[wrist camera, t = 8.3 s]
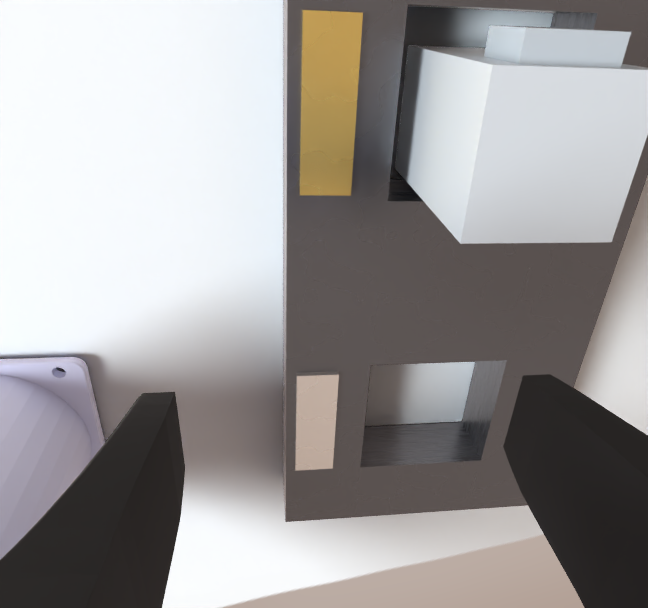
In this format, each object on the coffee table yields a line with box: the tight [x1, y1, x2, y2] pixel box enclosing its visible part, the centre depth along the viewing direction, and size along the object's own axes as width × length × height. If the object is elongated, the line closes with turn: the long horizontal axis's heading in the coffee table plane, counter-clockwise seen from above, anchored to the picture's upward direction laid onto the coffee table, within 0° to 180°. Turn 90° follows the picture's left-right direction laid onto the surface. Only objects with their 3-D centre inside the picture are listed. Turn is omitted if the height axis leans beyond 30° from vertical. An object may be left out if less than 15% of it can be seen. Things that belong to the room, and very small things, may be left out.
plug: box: [395, 25, 648, 244], centre depth 15 cm, size 4×5×7 cm
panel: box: [283, 0, 648, 522], centre depth 20 cm, size 12×24×3 cm, turn 178°
